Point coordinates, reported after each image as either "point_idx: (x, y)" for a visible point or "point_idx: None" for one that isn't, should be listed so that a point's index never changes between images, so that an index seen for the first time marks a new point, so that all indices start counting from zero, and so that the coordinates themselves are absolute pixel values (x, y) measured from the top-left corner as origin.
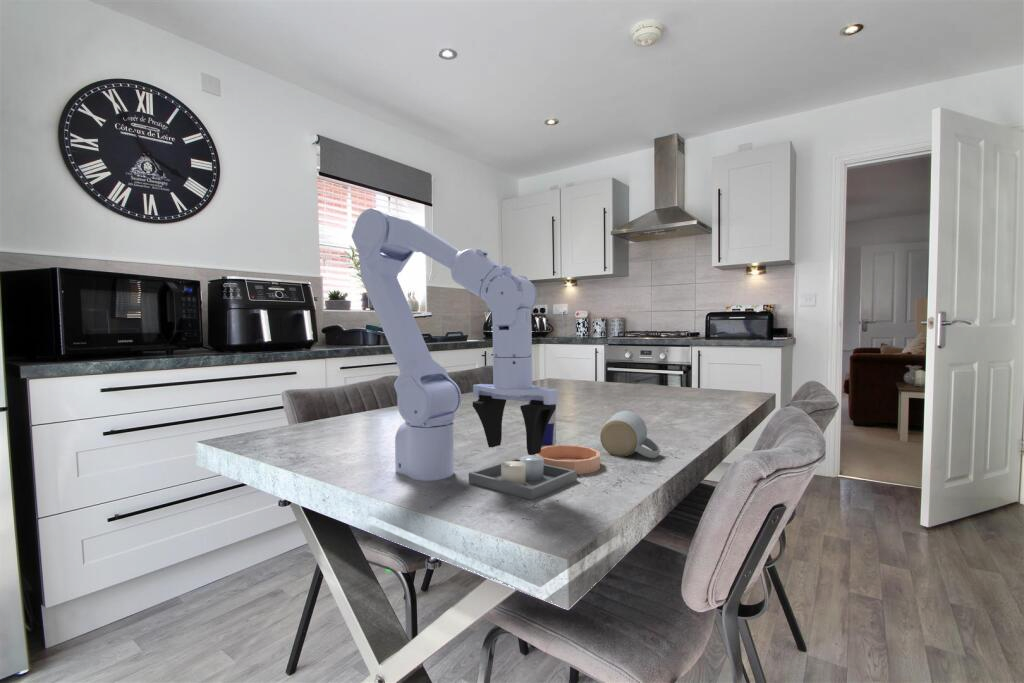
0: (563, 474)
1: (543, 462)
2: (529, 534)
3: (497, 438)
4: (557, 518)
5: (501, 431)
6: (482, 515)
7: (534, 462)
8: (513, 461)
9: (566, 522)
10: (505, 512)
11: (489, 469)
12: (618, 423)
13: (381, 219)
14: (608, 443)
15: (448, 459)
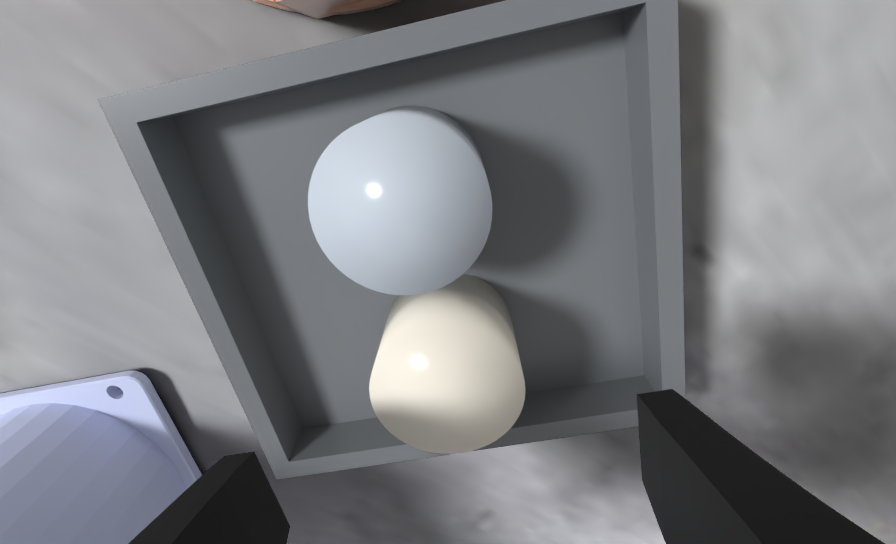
0: (654, 117)
1: (466, 142)
2: None
3: (238, 528)
4: (819, 381)
5: (180, 536)
6: (585, 526)
7: (479, 248)
8: (390, 356)
9: (869, 383)
10: (623, 469)
11: (250, 363)
12: None
13: None
14: None
15: (112, 536)
